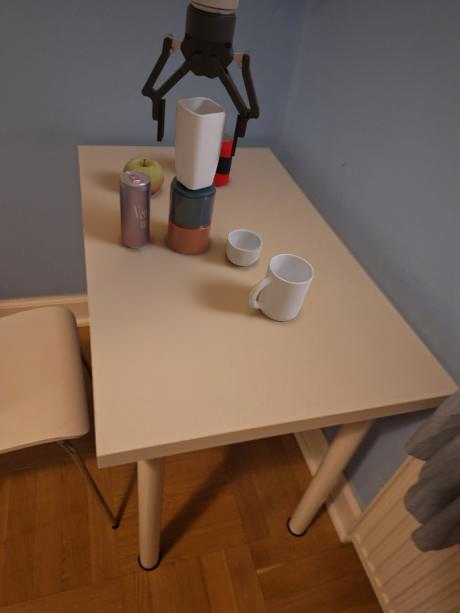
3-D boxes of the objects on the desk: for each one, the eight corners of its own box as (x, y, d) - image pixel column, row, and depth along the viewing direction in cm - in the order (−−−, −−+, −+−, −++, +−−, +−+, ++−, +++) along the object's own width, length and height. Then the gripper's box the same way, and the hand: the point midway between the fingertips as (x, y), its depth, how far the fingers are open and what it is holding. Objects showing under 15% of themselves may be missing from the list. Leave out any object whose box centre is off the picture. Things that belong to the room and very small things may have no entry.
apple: (156, 178, 107) (157, 149, 102) (168, 198, 102) (170, 169, 96) (119, 181, 104) (118, 151, 98) (129, 202, 98) (128, 171, 92)
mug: (254, 332, 75) (266, 292, 68) (234, 301, 80) (243, 261, 72) (306, 316, 80) (322, 278, 73) (284, 289, 85) (297, 250, 77)
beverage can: (142, 230, 91) (142, 168, 80) (154, 245, 88) (156, 182, 77) (116, 236, 88) (113, 172, 77) (128, 252, 85) (127, 188, 74)
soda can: (197, 173, 113) (201, 130, 104) (221, 171, 116) (228, 130, 107) (207, 187, 108) (213, 144, 100) (232, 185, 111) (240, 143, 103)
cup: (168, 178, 80) (172, 99, 70) (197, 171, 84) (206, 95, 74) (189, 196, 77) (197, 116, 66) (219, 188, 81) (231, 111, 70)
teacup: (261, 271, 87) (266, 251, 84) (226, 271, 86) (230, 251, 82) (251, 243, 94) (256, 223, 90) (219, 242, 92) (223, 222, 89)
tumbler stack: (163, 250, 87) (166, 190, 77) (171, 226, 94) (174, 168, 84) (205, 257, 88) (214, 199, 78) (210, 233, 94) (218, 176, 84)
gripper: (121, -8, 57) (124, 140, 72) (295, 30, 58) (262, 168, 73) (134, -15, 62) (134, 124, 77) (293, 20, 64) (263, 150, 78)
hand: (196, 146), depth 75 cm, fingers open, 13 cm apart
